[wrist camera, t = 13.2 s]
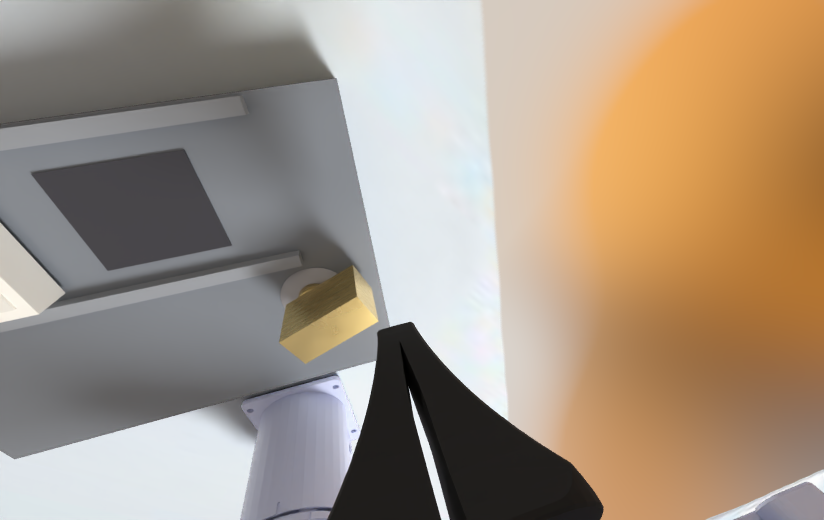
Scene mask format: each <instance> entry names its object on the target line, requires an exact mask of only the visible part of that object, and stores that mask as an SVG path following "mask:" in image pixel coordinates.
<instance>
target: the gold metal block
mask: <svg viewBox="0 0 824 520" xmlns="http://www.w3.org/2000/svg"><path fill="white" fill-rule="evenodd" d="M377 322H378V316H377V312H376V307H375V302H374V297H373V293H372V288H371V287H370V286H369V284H368V283H367V282H366V281H365V279H364V278H363V277H362V276H361V274H360V273H359V272H358V271H357V269H356V268H355V267H354V266H353V265H352V266H350V267H348V268H346V269H345V270H343V271H341V272H340V273H338V274H336V275H335V276H333V277H331V278H330V279H328V280H326V281H325V282H323V283H321V284H318V283H314V284H309V285H307V286H305V287H303V288H302V289H301V290H300V292H299V295H298V298H296V299H295V300H293V301H291V302H290V303H288V304H286V307H285V313H284V318H283V323H282V329H281V334H280V339H279V343H280V344H281V345H282V346H284V347H285V348H286V349H287V350H289V351H290V352H291V353H292V354H294V355H295V356H296V357H297V358H299V359H300V360H301V361H302V362H304V363H305V364H306V363H308V362H310V361H311V360H313V359H315V358H316V357H318V356H320V355H322V354H323V353H325V352H327V351H328V350H330V349H332V348H334V347H335V346H337V345H339V344H341V343H342V342H344V341H346V340H347V339H349V338H351V337H353V336H354V335H356V334H358V333H359V332H361V331H363V330H365V329H366V328H368V327H370V326H371V325H373V324H375V323H377Z"/></svg>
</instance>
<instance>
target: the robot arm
mask: <svg viewBox="0 0 824 520" xmlns="http://www.w3.org/2000/svg"><path fill="white" fill-rule="evenodd" d="M377 338H378V347H377V360H376V367H375V374H374V380H373V385H372V390H371V395H370V399H369V404H368V408H367V412H366V416H365V419H364V423H363V426H362V430H361V432H360V429H359V426H358V424H357V421H356V419H355V416H354V413H353V411H352V408H351V406H350V403H349V400H348V398H347V395H346V393H345V390H344V387H343V385H342V382H341V380H340V378H339V377H338V376H331V377H327V378H324V379H320V380H316V381H313V382H309V383H305V384H302V385H298V386H295V387H291V388H287V389H284V390H280V391H276V392H273V393H269V394H265V395H262V396H258V397H255V398H251V399H247V400H245V401H243V402H242V405H241V409H242V410H243V411H244V413H245V414H246V416H247V417H248V418H249V420H250V421H251V423H252V424H253V425H254V427H255V428H256V430H257V431H258V433H257V438H256V443H255V448H254V453H253V458H252V463H251V468H250V473H249V478H248V483H247V488H246V493H245V499H244V504H243V509H242V514H241V519H240V520H441V517H440V514H439V510H438V506H437V503H436V499H435V495H434V492H433V488H432V485H431V481H430V477H429V474H428V470H427V466H426V462H425V459H424V455H423V451H422V448H421V444H420V440H419V436H418V433H417V429H416V425H415V421H414V417H413V411H412V405H411V399H410V393H409V389H410V392H411V395H412V398H413V400H414V403H415V406H416V409H417V412H418V414H419V417H420V420H421V423H422V425H423V428H424V431H425V434H426V437H427V439H428V442H429V445H430V448H431V451H432V455H433V458H434V462H435V466H436V469H437V473H438V477H439V480H440V484H441V488H442V492H443V495H444V499H445V503H446V506H447V510H448V514H449V518H450V520H600V519H601V517H602V514H603V505H602V503H601V502H600V500H599V498H598V497H597V495H596V494H595V492H594V491H593V489H592V488H591V487H590V485H589V484H588V483H587V482H586V480H585V479H584V478H583V477H582V475H581V474H580V473H579V472H578V471H577V469H576V468H575V467H574V466H573V465H572V464H571V463H570V462H568V461H567V460H565V459H563V458H562V457H561V456H559V455H557V454H556V453H554V452H552V451H551V450H549V449H548V448H546V447H545V446H543V445H541V444H540V443H538V442H537V441H535V440H534V439H532V438H531V437H529V436H528V435H527V434H525V433H524V432H522V431H521V430H519V429H518V428H516V427H515V426H514V425H512V424H511V423H510V422H508V421H507V420H506V419H504V418H503V417H502V416H500V415H499V414H498V413H497V412H495V411H494V410H493V409H491V408H490V407H489V406H488V405H487V404H485V403H484V402H483V401H482V400H481V399H479V398H478V397H477V396H476V395H475V394H474V393H473V392H471V391H470V390H469V389H468V388H467V387H466V386H465V385H464V384H463V383H462V382H461V381H460V380H459V379H458V378H457V377H456V376H455V375H454V374H453V373H452V372H451V371H450V370H449V369H448V368H447V367H446V366H445V365H444V364H443V362H442V361H441V360H440V359H439V358H438V357H437V355H436V354H435V353H434V352H433V351H432V350H431V348H430V347H429V346H428V344H427V343H426V342H425V340H424V339H423V338H422V336H421V335H420V333H419V332H418V330H417V329H416V327H415V325H414V323H412V322H408V323H404V324H400V325H396V326H392V327H388V328H384V329H381V330H379V331H378V332H377ZM408 386H409V387H408ZM358 438H359V439H358ZM355 439H358V442H357V445H356V448H355V451H354V454H353V457H352V446H351V441H352V440H355ZM734 520H824V493H823V492H822V491H821V490H819V489H818V488H817V487H816V486H815V485H813V484H812V483H809V482H804V483H802V484H799V485H797V486H794V487H792V488H790V489H787V490H785V491H782V492H780V493H778V494H776V495H773V496H771V497H770V498H768V499H766V500H765V501H763V502H762V503H761V504H759V505H758V506H757V507H756V510H755V511H753V512H751V513H748V514H746V515H744V516H741V517H739V518H736V519H734Z"/></svg>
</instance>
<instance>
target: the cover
mask: <svg viewBox="0 0 824 520" xmlns="http://www.w3.org/2000/svg"><path fill="white" fill-rule="evenodd" d="M64 294H65V292H64V291H63V290H62V289H61V288H60V286H59V285H58V284H57V283H56V282H55V281H54V280H53V279H52V278H51V277H50V276H49V275H48V274H47V272H46V271H45V270H44V269H43V268H42V267H41V266H40V265H39V264H38V263H37V262H36V261H35V260H34V258H33V257H32V256H31V255H30V254H29V253H28V252H27V251H26V250H25V249H24V248H23V247H22V246H21V244H20V243H19V242H18V241H17V240H16V239H15V238H14V237H13V236H12V235H11V234H10V233H9V232H8V230H7V229H6V228H5V227H4V226H3V225H2V224H1V223H0V323H1V322H6V321H11V320H15V319H20V318H24V317H29V316H34V315H38V314H40V313H41V312H43V311H44V310H45V309H46V308H48V307H49V306H50V305H51V304H53V303H54V302H55V301H56V300H58V299H59V298H60V297H61V296H63V295H64Z"/></svg>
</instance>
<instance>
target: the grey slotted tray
mask: <svg viewBox="0 0 824 520" xmlns="http://www.w3.org/2000/svg"><path fill="white" fill-rule="evenodd" d="M0 223H1V224H2V225H3V226H4V227H5V228H6V229H7V230H8V232H9V233H10V234H11V235H12V236H13V237H14V238H15V239H16V240H17V241H18V242H19V243H20V244H21V246H22V247H23V248H24V249H25V250H26V251H27V252H28V253H29V254H30V255H31V256H32V257H33V258H34V260H35V261H36V262H37V263H38V264H39V265H40V266H41V267H42V268H43V269H44V270H45V271H46V272H47V274H48V275H49V276H50V277H51V278H52V279H53V280H54V281H55V282H56V283H57V284H58V285H59V286H60V288H61V289H62V290H63V291H64V292H65V294H64V295H63V296H61V297H60V298H59V299H58V300H56V301H55V302H54V303H53V304H51V305H50V306H49V307H48V308H46V309H45V310H44V311H43V312H41V313H40V314H38V315H34V316H29V317H24V318H20V319H15V320H11V321H6V322H1V323H0V451H2V452H4V453H5V454H7V455H9V456H10V457H12V458H14V459H17V458H21V457H25V456H28V455H32V454H36V453H39V452H43V451H47V450H50V449H54V448H58V447H61V446H65V445H69V444H72V443H76V442H80V441H83V440H87V439H91V438H94V437H98V436H102V435H105V434H109V433H113V432H116V431H120V430H124V429H127V428H131V427H135V426H138V425H142V424H146V423H149V422H153V421H157V420H160V419H164V418H168V417H171V416H175V415H179V414H182V413H186V412H190V411H193V410H197V409H201V408H204V407H208V406H212V405H215V404H219V403H222V402H226V401H230V400H233V399H237V398H241V397H244V396H248V395H252V394H255V393H259V392H263V391H266V390H270V389H274V388H277V387H281V386H285V385H288V384H292V383H296V382H299V381H303V380H307V379H310V378H314V377H318V376H321V375H325V374H329V373H332V372H336V371H340V370H343V369H347V368H351V367H354V366H358V365H362V364H365V363H369V362H373V361H376V360H377V347H378V338H377V332H378V331H379V330H381V329H384V328H388V327H390V325H389V321H388V316H387V311H386V307H385V302H384V297H383V293H382V288H381V283H380V279H379V274H378V269H377V265H376V260H375V255H374V251H373V246H372V241H371V237H370V232H369V227H368V223H367V218H366V213H365V209H364V204H363V199H362V195H361V190H360V185H359V181H358V176H357V171H356V167H355V162H354V157H353V153H352V148H351V143H350V139H349V134H348V129H347V125H346V120H345V115H344V111H343V106H342V101H341V97H340V92H339V87H338V83H337V78H334V79H327V80H319V81H312V82H305V83H297V84H290V85H283V86H275V87H268V88H261V89H253V90H246V91H239V92H231V93H224V94H217V95H210V96H202V97H195V98H188V99H180V100H173V101H166V102H158V103H151V104H144V105H136V106H129V107H122V108H114V109H107V110H100V111H92V112H85V113H78V114H70V115H63V116H56V117H48V118H41V119H34V120H26V121H19V122H12V123H4V124H0ZM352 265H353V266H354V267H355V268H356V269H357V271H358V272H359V273H360V274H361V276H362V277H363V278H364V279H365V281H366V282H367V283H368V284H369V286H370V287H371V288H372V293H373V297H374V302H375V307H376V312H377V316H378V322H377V323H375V324H373V325H371V326H370V327H368V328H366V329H365V330H363V331H361V332H359V333H358V334H356V335H354V336H353V337H351V338H349V339H347V340H346V341H344V342H342V343H341V344H339V345H337V346H335V347H334V348H332V349H330V350H328V351H327V352H325V353H323V354H322V355H320V356H318V357H316V358H315V359H313V360H311V361H310V362H308V363H306V364H305V363H304V362H302V361H301V360H300V359H299V358H297V357H296V356H295V355H294V354H292V353H291V352H290V351H289V350H287V349H286V348H285V347H284V346H282V345H281V344H280V343H279V339H280V334H281V329H282V323H283V318H284V313H285V307H286V304H288V303H290V302H291V301H293V300H295V299H296V298H298V295H299V292H300V290H301V289H302V288H303V287H305V286H307V285H309V284H314V283H318V284H321V283H323V282H325V281H326V280H328V279H330V278H331V277H333V276H335V275H336V274H338V273H340V272H341V271H343V270H345V269H346V268H348V267H350V266H352Z"/></svg>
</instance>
